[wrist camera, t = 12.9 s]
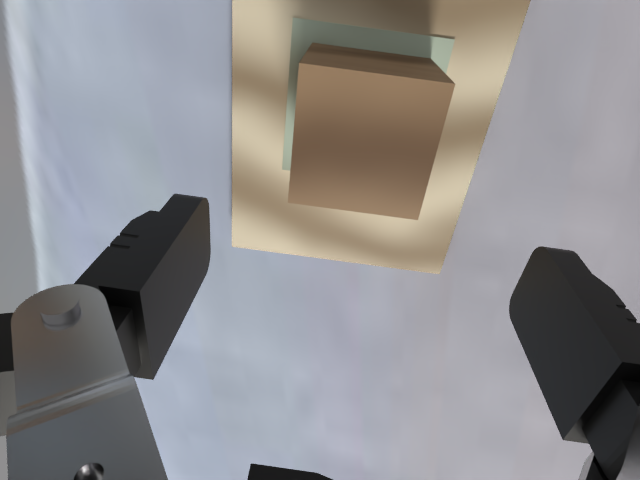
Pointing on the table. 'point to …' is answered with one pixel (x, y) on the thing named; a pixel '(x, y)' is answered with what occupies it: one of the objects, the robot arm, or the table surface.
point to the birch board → (279, 113)
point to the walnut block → (366, 130)
